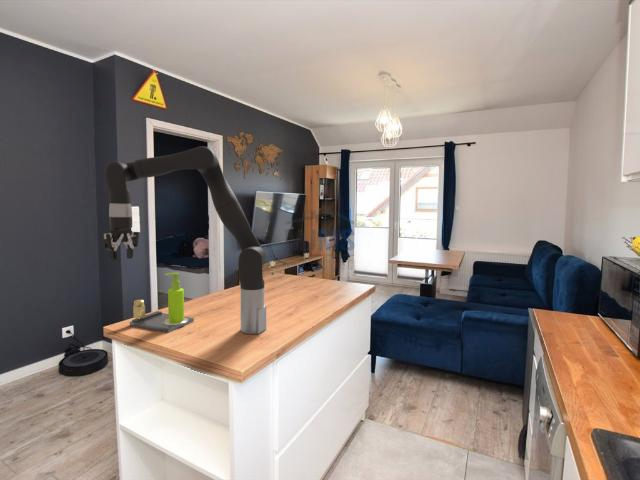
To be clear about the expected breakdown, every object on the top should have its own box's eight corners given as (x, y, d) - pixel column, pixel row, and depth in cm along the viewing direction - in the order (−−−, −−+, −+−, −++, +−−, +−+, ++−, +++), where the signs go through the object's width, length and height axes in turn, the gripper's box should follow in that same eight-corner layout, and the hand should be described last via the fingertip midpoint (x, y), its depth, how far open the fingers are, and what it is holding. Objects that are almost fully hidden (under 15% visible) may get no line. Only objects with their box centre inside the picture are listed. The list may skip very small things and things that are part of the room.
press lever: (146, 316, 142) (145, 300, 141) (139, 319, 138) (138, 302, 138) (139, 315, 143) (139, 299, 142) (132, 318, 140) (131, 301, 139)
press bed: (195, 321, 145) (195, 316, 145) (170, 332, 132) (169, 327, 132) (157, 315, 152) (157, 310, 152) (129, 325, 139) (129, 319, 139)
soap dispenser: (166, 319, 142) (165, 271, 140) (184, 318, 144) (183, 271, 142) (165, 324, 136) (164, 274, 134) (184, 322, 139) (183, 274, 137)
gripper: (110, 216, 122) (112, 263, 124) (144, 215, 136) (145, 257, 137) (95, 215, 125) (97, 261, 127) (129, 215, 138) (131, 256, 140)
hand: (122, 259), depth 132 cm, fingers open, 6 cm apart
